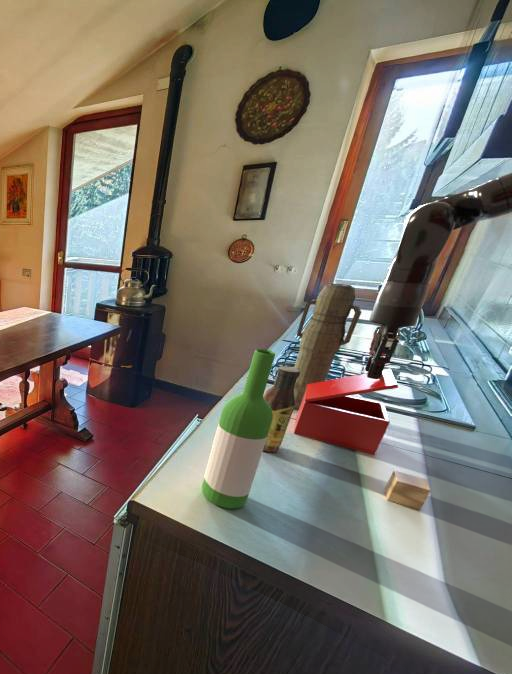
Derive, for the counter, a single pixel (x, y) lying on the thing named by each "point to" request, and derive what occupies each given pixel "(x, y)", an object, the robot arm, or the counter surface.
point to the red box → (344, 422)
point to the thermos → (323, 335)
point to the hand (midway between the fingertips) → (371, 374)
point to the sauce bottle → (280, 405)
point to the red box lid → (349, 386)
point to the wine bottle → (240, 438)
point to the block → (407, 489)
